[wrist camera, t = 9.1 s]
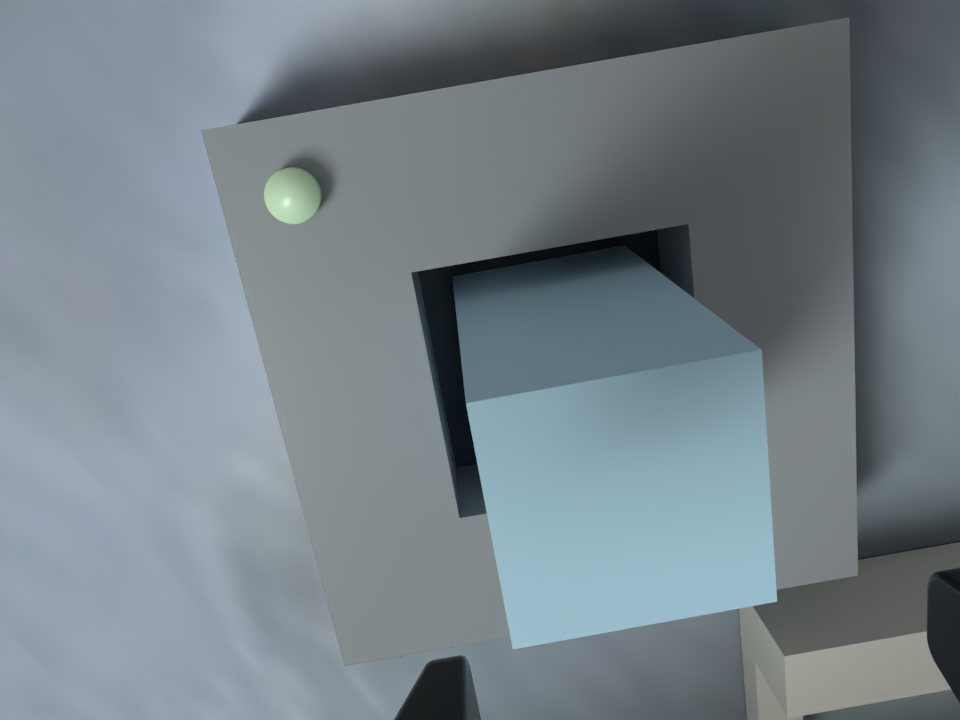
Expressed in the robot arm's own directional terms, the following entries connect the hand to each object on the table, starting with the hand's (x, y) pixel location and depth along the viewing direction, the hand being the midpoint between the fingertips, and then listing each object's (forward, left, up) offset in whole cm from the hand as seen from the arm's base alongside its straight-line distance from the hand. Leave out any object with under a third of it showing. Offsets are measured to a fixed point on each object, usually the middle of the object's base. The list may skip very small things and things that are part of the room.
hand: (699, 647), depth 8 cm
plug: (0, 0, -11) cm, 11 cm away
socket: (0, 0, -11) cm, 11 cm away
